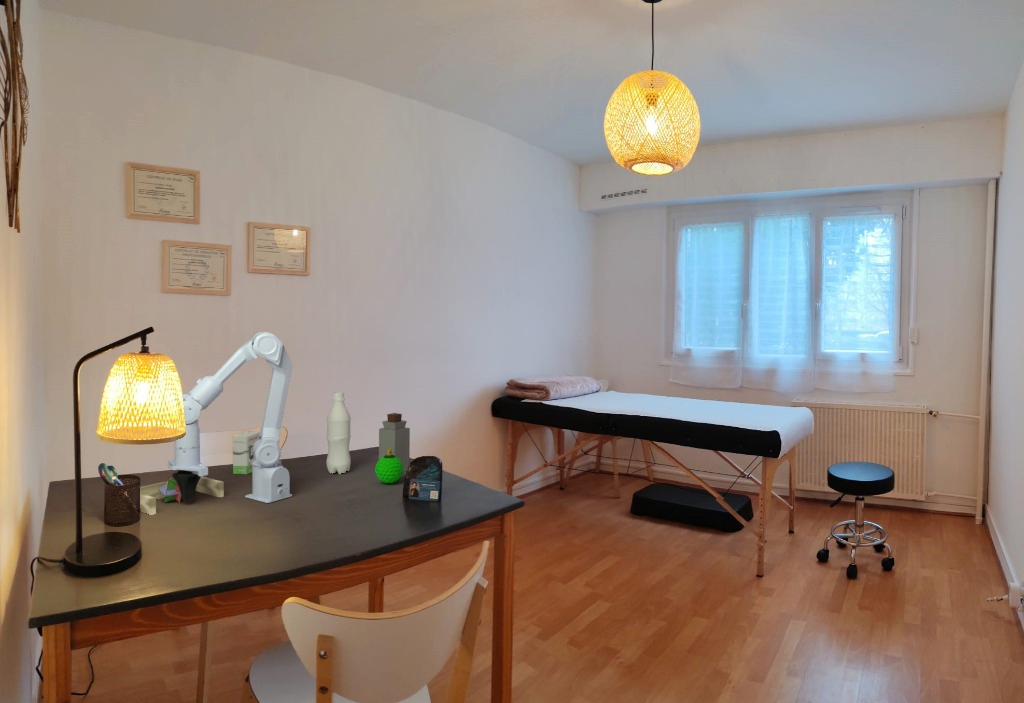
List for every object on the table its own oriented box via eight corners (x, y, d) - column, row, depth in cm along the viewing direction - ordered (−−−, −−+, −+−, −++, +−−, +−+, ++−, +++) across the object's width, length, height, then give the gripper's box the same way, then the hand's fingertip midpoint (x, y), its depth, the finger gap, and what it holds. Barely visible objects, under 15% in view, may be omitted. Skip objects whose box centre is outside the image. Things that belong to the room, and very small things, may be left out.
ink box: (247, 474, 191) (247, 436, 190) (232, 474, 191) (231, 435, 190) (262, 468, 199) (261, 431, 198) (247, 467, 200) (247, 430, 199)
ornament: (390, 488, 179) (390, 453, 178) (369, 484, 183) (369, 450, 182) (409, 482, 186) (409, 448, 185) (388, 478, 190) (388, 445, 189)
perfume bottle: (409, 469, 200) (409, 413, 199) (394, 474, 195) (395, 416, 194) (393, 466, 204) (393, 411, 203) (378, 471, 198) (379, 414, 197)
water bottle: (326, 470, 198) (326, 391, 196) (349, 469, 200) (350, 390, 198) (326, 476, 191) (326, 394, 189) (351, 474, 193) (351, 393, 191)
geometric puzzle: (198, 493, 163) (188, 466, 165) (172, 499, 157) (161, 471, 160) (186, 506, 166) (176, 479, 169) (160, 512, 161) (149, 484, 163)
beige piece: (223, 496, 168) (223, 481, 168) (151, 515, 152) (150, 499, 151) (196, 488, 175) (195, 474, 174) (123, 506, 158) (123, 490, 158)
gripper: (155, 445, 160) (156, 498, 161) (188, 453, 152) (189, 508, 153) (182, 441, 166) (183, 492, 167) (215, 448, 158) (216, 501, 159)
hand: (187, 499), depth 160 cm, fingers closed
